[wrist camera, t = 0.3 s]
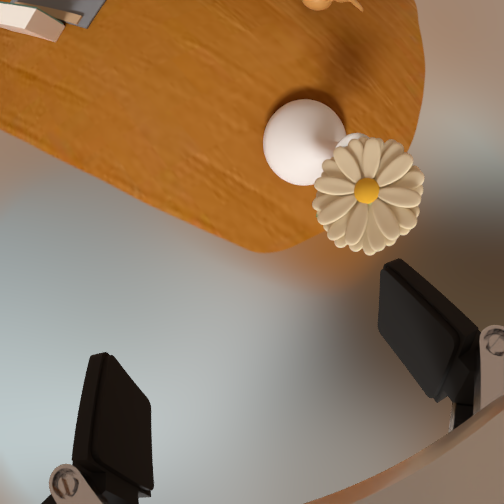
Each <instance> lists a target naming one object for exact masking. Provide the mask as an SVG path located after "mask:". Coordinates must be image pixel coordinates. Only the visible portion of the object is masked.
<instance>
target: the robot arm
mask: <svg viewBox="0 0 504 504" xmlns="http://www.w3.org/2000/svg"><path fill="white" fill-rule="evenodd" d="M378 329H379V332H380V334H381V335H382V336H383V338H384V339H385V340H386V342H387V343H388V344H389V345H390V347H391V348H392V349H393V351H394V352H395V353H396V355H397V356H398V357H399V359H400V360H401V361H402V362H403V364H404V365H405V366H406V368H407V369H408V370H409V372H410V373H411V374H412V376H413V377H414V379H415V380H416V381H417V382H418V384H419V385H420V387H421V388H422V389H423V391H424V392H425V394H426V395H427V396H428V397H429V398H434V399H435V401H436V402H437V403H438V402H439V401H441V400H442V399H444V398H445V397H447V396H448V397H449V398H450V399H451V401H452V408H451V416H450V424H449V431H448V434H446V435H445V436H443V437H442V438H440V439H439V440H437V441H436V442H434V443H433V444H431V445H430V446H428V447H426V448H425V449H423V450H421V451H420V452H418V453H416V454H415V455H413V456H411V457H409V458H408V459H406V460H404V461H402V462H400V463H399V464H397V465H395V466H393V467H391V468H389V469H387V470H385V471H383V472H381V473H379V474H377V475H375V476H373V477H371V478H368V479H366V480H364V481H362V482H360V483H357V484H355V485H353V486H351V487H348V488H346V489H343V490H341V491H338V492H335V493H333V494H330V495H328V496H325V497H322V498H319V499H316V500H313V501H310V502H307V503H304V504H504V327H503V326H499V325H491V326H488V327H486V328H485V329H484V330H483V331H482V332H480V331H479V330H478V327H477V326H476V325H475V324H474V323H473V322H472V321H471V320H470V319H469V318H467V317H466V316H465V315H464V314H463V313H462V312H461V311H460V310H459V309H458V308H457V307H456V306H455V305H454V304H453V303H451V302H450V301H449V300H448V299H447V298H446V297H445V296H444V295H443V294H442V293H440V292H439V291H438V290H437V289H436V288H435V287H434V286H433V285H431V284H430V283H429V282H428V281H427V280H426V279H425V278H423V277H422V276H421V275H420V274H419V273H417V272H416V271H415V270H414V269H413V268H412V267H410V266H409V265H408V264H407V263H405V262H404V261H403V260H402V259H399V258H398V259H396V260H393V261H391V262H388V263H386V264H385V265H384V267H383V269H382V270H381V273H380V296H379V314H378ZM72 460H73V464H72V465H70V464H63V465H60V466H58V467H56V468H55V469H54V471H53V472H52V474H51V476H50V480H49V488H50V492H51V495H50V496H49V497H48V498H47V499H46V500H45V501H44V502H43V503H42V504H139V502H138V498H139V497H151V490H153V488H154V480H153V465H152V439H151V405H150V402H149V400H148V398H147V397H146V396H145V395H144V393H143V392H142V391H141V390H140V389H139V387H138V386H137V385H136V384H135V383H134V381H133V380H132V379H131V378H130V376H129V375H128V374H127V373H126V371H125V370H124V369H123V368H122V366H121V365H120V364H119V362H118V361H117V360H116V358H115V357H114V356H113V355H109V354H108V353H106V352H104V353H99V354H95V355H92V356H90V359H89V363H88V367H87V371H86V376H85V380H84V385H83V390H82V395H81V401H80V406H79V411H78V418H77V423H76V430H75V437H74V444H73V453H72Z"/></svg>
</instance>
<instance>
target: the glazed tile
mask: <svg viewBox="0 0 504 504" xmlns="http://www.w3.org/2000/svg"><path fill="white" fill-rule="evenodd" d="M0 27H2V28H5V29H8V30H11V31H15V32H19V33H23V34H27V35H31V36H35V37H39V38H43V39H46V40H50V41H53V42H56V41H57V39H58V38H59V36H60V34H61V32H62V31H63V29H64V27H65V26H64V25H63V23H62V22H60V21H59V20H57V19H56V18H54V17H52V16H51V15H49V14H47V13H46V12H44V11H43V10H41V9H39V8H38V7H33V6H28V5H22V4H15V3H8V2H0Z"/></svg>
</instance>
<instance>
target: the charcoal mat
mask: <svg viewBox="0 0 504 504" xmlns="http://www.w3.org/2000/svg"><path fill="white" fill-rule="evenodd" d="M105 1H106V0H12V1H11V2H10V3H15V4H22V5H28V6H33V7H38V8H39V9H41V10H43V11H44V12H46V13H47V14H49V15H51V16H52V17H54V18H56V19H57V20H59V21H62V22H66V23H69V24H73V25H76V26H80V27H83V28H86V29H87V28H88V27H89V25H90V24H91V22H92V20H93V19H94V17H95V16H96V14H97V13H98V11H99V10H100V8H101V7H102V6H103V4H104V3H105Z"/></svg>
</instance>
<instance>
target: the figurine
mask: <svg viewBox="0 0 504 504" xmlns="http://www.w3.org/2000/svg"><path fill="white" fill-rule="evenodd" d="M332 1H334V0H302V2H303V3H304V5H305V6H306V7H308V8H310V9H312V10H317V11H320V10H324V9H326V8H328V7H329V6H330V5H331V3H332ZM335 1H337V2H351V3H352V4H353V5H354V6H355V7H357V8H358V9H359V10H360V12H363V10H364V9H363V8H362V6H361V5H360V4H359V3H358V2H357V1H356V0H335Z"/></svg>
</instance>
